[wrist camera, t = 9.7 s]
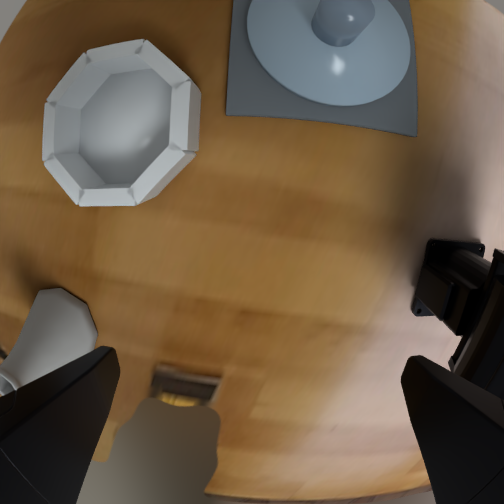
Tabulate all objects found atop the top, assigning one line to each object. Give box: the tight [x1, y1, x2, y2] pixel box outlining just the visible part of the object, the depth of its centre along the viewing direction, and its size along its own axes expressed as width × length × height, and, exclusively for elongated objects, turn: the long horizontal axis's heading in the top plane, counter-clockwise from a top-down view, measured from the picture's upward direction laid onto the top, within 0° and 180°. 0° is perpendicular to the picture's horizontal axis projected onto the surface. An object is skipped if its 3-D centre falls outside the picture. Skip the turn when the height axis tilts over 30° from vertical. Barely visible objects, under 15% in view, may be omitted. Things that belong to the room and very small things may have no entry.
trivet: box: [226, 0, 418, 137], centre depth 16 cm, size 13×13×1 cm
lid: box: [247, 0, 410, 107], centre depth 13 cm, size 11×11×4 cm
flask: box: [0, 288, 98, 396], centre depth 18 cm, size 7×7×10 cm
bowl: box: [42, 39, 201, 206], centre depth 16 cm, size 10×10×4 cm
